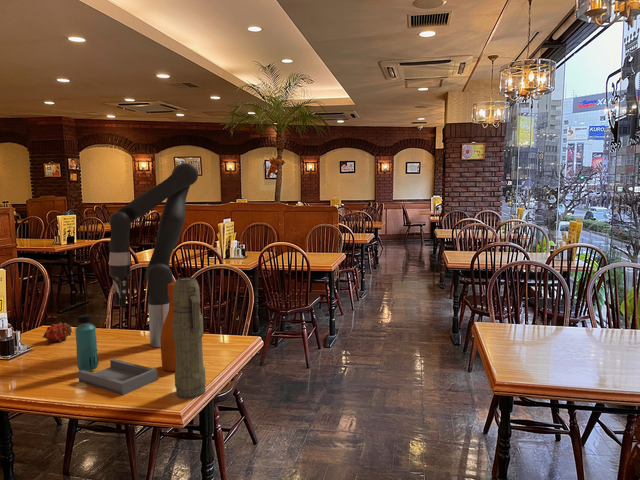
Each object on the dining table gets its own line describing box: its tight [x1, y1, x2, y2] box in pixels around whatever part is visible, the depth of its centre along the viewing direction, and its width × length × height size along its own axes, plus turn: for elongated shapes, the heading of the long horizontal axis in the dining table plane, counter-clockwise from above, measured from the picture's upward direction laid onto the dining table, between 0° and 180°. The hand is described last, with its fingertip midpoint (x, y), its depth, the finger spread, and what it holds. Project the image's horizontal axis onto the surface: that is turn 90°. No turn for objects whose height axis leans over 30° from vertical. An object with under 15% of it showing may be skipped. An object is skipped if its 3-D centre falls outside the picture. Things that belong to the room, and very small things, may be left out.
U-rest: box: [77, 358, 159, 396], centre depth 146 cm, size 22×13×4 cm, turn 60°
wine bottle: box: [160, 282, 176, 372], centre depth 156 cm, size 10×10×30 cm
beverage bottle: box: [74, 314, 99, 372], centre depth 154 cm, size 6×7×20 cm
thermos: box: [172, 276, 207, 400], centre depth 135 cm, size 9×12×35 cm
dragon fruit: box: [42, 321, 73, 343], centre depth 190 cm, size 8×8×12 cm
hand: (120, 305), depth 175 cm, fingers open, 8 cm apart
